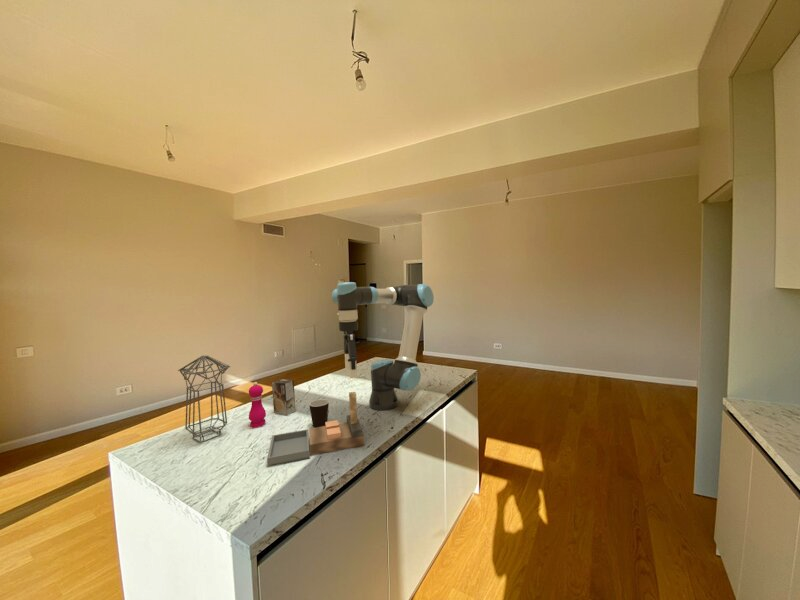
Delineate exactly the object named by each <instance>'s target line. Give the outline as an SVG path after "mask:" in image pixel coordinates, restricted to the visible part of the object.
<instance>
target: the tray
mask: <svg viewBox="0 0 800 600" xmlns="http://www.w3.org/2000/svg"><path fill="white" fill-rule="evenodd" d="M310 456H311V455H310V438H309V429H307V428H306V429H302V430H301V429H300V430H295V431H291V432H284V433H279V434H273V435H272V436H271V440H270V445H269V448H268V453H267V457H266V462H267V467H274V466H279V465H283V464H288V463H289V464H290V463H293V462H294V463H295V462H299V461H303V460H309V459H310Z"/></svg>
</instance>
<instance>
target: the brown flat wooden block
mask: <svg viewBox="0 0 800 600" xmlns="http://www.w3.org/2000/svg"><path fill="white" fill-rule="evenodd" d="M338 424H339V428H340V431H341V438H337V439H331V440H328V439H327V432H326V426H322V427H316V428H315V427H312V428H309V429H308V430H309V455H310V456H315V455H320V454H324V453H331V452H335V451H340V450H341V451H342V450H345V449H350V448H355V447H360V446H365V437H364V434H363V436H361V437H356V438H352V436H351V433H350V430H349V427H348V424H347V421H346V422H345V421H344V422H340V423H339V422H338Z"/></svg>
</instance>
